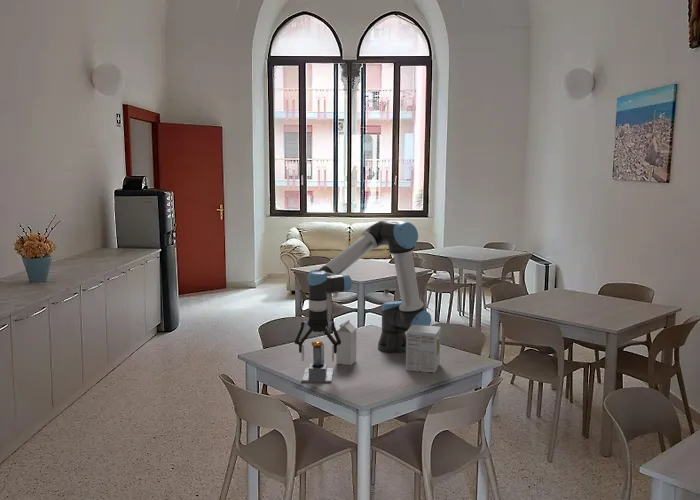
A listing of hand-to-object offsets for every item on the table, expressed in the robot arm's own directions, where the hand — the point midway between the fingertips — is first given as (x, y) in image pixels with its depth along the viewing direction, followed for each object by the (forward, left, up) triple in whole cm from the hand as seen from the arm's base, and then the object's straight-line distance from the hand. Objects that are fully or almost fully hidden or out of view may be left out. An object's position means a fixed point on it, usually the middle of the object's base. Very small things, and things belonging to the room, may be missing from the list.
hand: (317, 360), depth 260 cm
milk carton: (-11, -21, -8) cm, 25 cm away
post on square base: (0, -1, -7) cm, 7 cm away
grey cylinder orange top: (0, 0, -6) cm, 6 cm away
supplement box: (-45, -16, -8) cm, 48 cm away
